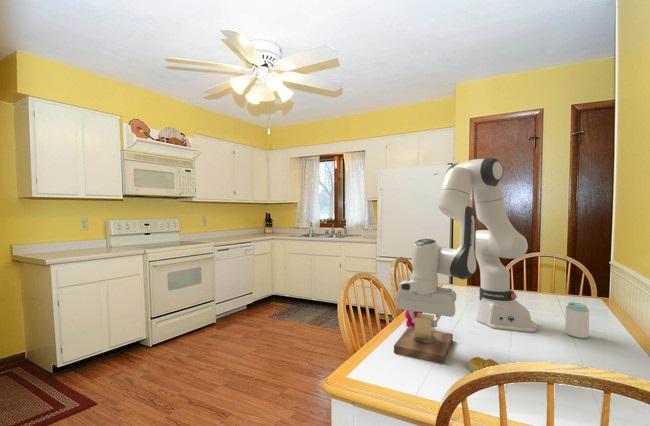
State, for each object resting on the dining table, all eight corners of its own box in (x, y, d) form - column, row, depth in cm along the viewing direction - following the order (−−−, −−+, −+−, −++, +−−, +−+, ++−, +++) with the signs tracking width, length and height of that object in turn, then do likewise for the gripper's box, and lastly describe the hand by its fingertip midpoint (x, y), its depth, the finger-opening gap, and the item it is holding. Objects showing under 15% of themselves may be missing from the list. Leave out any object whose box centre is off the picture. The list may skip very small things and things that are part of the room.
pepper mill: (424, 329, 130) (424, 280, 129) (405, 328, 131) (405, 279, 131) (422, 323, 137) (422, 276, 136) (404, 322, 138) (404, 275, 138)
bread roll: (469, 363, 103) (470, 350, 103) (502, 370, 98) (502, 357, 98) (465, 374, 96) (465, 361, 96) (500, 383, 91) (500, 369, 91)
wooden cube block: (434, 334, 115) (434, 315, 115) (431, 340, 111) (431, 320, 110) (418, 331, 118) (418, 312, 118) (414, 337, 113) (414, 317, 113)
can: (568, 337, 122) (569, 306, 122) (562, 331, 129) (563, 300, 128) (591, 340, 119) (592, 308, 119) (584, 333, 126) (585, 302, 126)
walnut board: (452, 340, 119) (452, 314, 119) (443, 363, 102) (443, 333, 102) (409, 332, 127) (409, 307, 127) (393, 352, 110) (394, 324, 109)
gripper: (457, 287, 112) (457, 327, 112) (399, 280, 122) (398, 317, 122) (455, 291, 106) (454, 333, 106) (394, 284, 116) (393, 322, 116)
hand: (424, 324), depth 114 cm, fingers closed on wooden cube block, 5 cm apart
